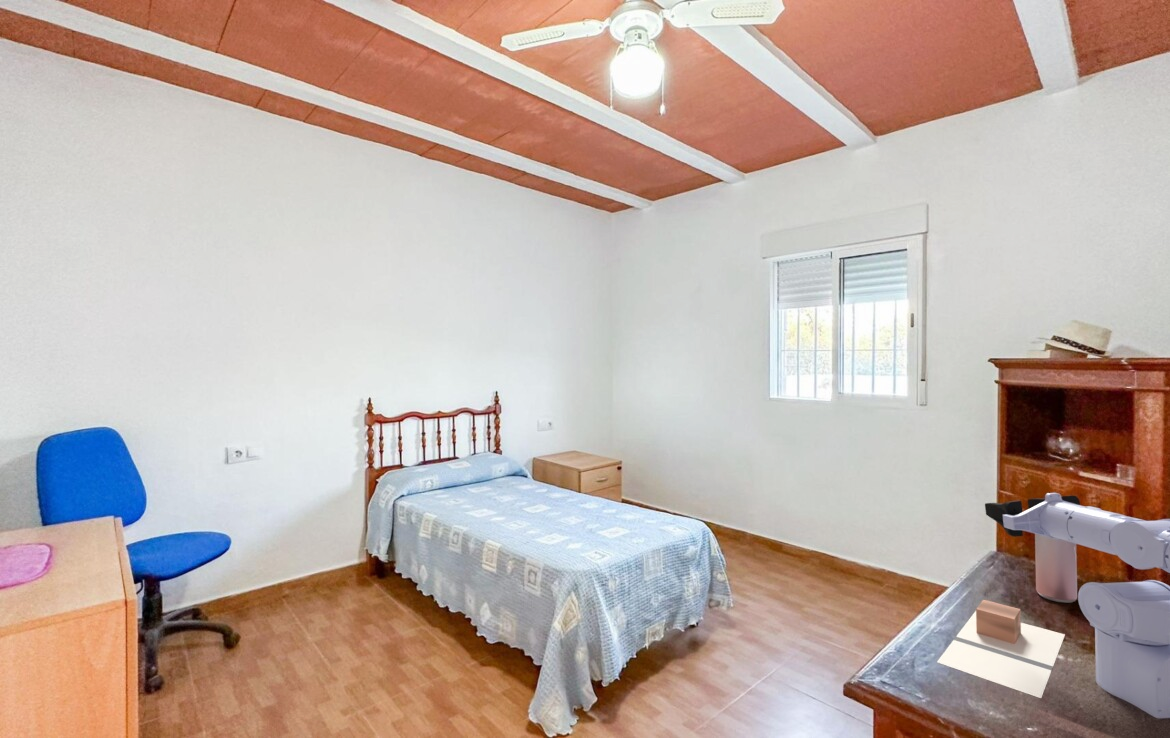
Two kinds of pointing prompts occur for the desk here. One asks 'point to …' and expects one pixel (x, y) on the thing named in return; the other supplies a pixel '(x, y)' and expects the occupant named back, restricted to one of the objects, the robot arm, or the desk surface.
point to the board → (1006, 657)
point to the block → (998, 621)
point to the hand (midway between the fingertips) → (1008, 507)
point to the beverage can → (1056, 569)
